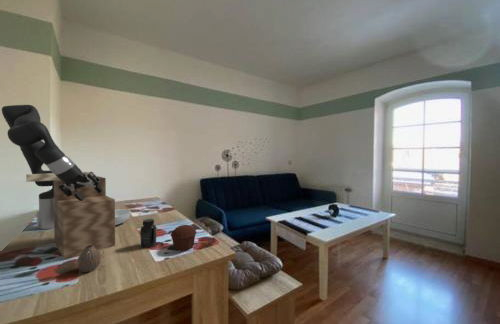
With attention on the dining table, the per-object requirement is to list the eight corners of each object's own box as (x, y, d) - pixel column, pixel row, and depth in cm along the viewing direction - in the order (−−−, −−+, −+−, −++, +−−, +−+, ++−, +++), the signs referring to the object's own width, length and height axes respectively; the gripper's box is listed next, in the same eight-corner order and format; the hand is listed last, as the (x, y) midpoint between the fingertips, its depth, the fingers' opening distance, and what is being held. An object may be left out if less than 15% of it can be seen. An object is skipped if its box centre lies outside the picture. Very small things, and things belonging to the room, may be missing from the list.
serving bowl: (137, 222, 128) (137, 212, 128) (99, 233, 111) (99, 220, 111) (120, 217, 139) (120, 207, 139) (83, 225, 122) (83, 214, 122)
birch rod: (26, 181, 86) (26, 174, 86) (26, 181, 88) (26, 174, 88) (93, 177, 104) (93, 172, 103) (91, 177, 106) (91, 171, 105)
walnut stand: (63, 260, 82) (63, 184, 81) (54, 242, 98) (53, 178, 98) (115, 245, 96) (114, 180, 95) (99, 231, 112) (98, 176, 111)
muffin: (189, 240, 103) (189, 220, 103) (201, 247, 95) (201, 226, 95) (166, 247, 95) (166, 226, 95) (176, 255, 87) (176, 232, 87)
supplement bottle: (159, 243, 99) (159, 218, 99) (148, 249, 93) (148, 223, 92) (148, 240, 101) (148, 217, 101) (137, 246, 95) (137, 221, 95)
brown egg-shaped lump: (86, 264, 79) (86, 242, 79) (105, 264, 79) (105, 242, 79) (72, 275, 72) (72, 250, 72) (92, 274, 72) (92, 250, 72)
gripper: (85, 157, 87) (109, 185, 96) (52, 170, 86) (80, 197, 95) (76, 166, 81) (104, 194, 89) (41, 179, 80) (72, 207, 88)
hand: (92, 195), depth 92 cm, fingers open, 8 cm apart
